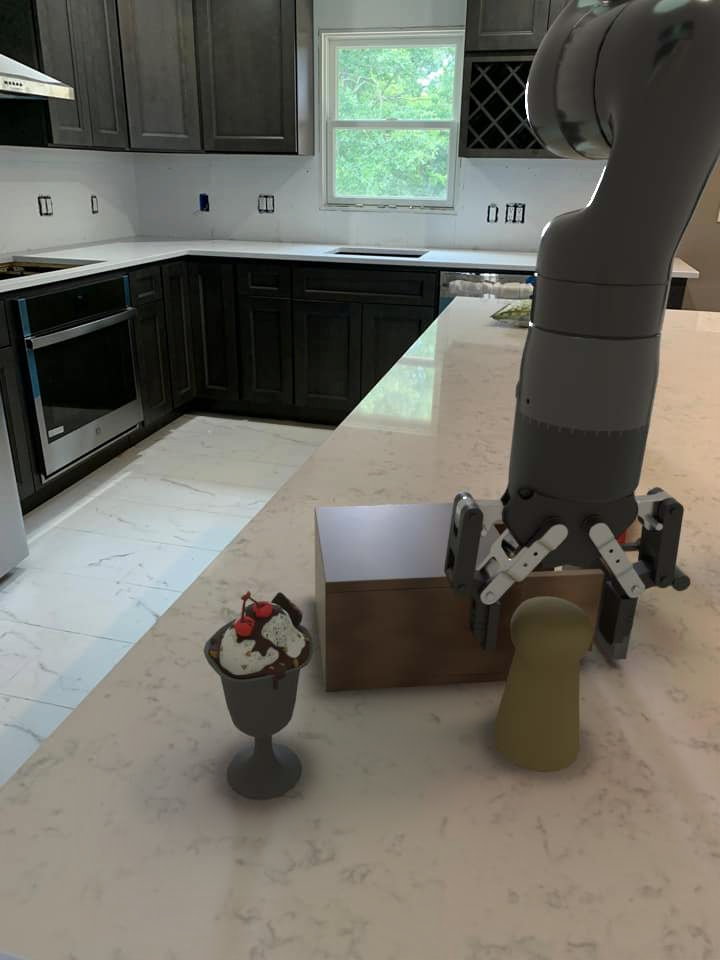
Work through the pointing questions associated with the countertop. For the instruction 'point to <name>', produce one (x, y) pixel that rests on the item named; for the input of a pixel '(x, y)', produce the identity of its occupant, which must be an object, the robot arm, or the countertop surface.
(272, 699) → the sundae
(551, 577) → the drawer
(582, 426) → the robot arm
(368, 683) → the cabinet
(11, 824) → the countertop surface
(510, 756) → the cork
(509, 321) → the frozen beans
